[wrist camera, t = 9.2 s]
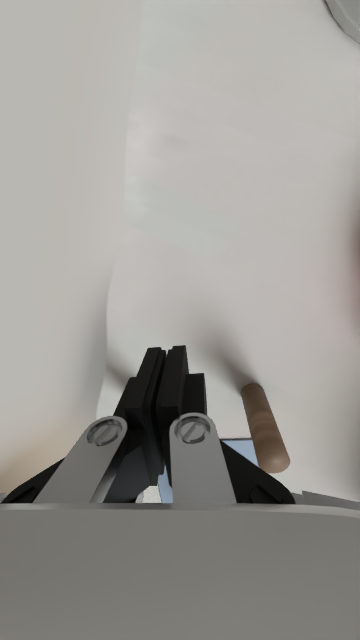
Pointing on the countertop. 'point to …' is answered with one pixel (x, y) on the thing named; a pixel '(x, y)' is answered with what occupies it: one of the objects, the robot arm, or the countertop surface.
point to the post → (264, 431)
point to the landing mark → (239, 445)
